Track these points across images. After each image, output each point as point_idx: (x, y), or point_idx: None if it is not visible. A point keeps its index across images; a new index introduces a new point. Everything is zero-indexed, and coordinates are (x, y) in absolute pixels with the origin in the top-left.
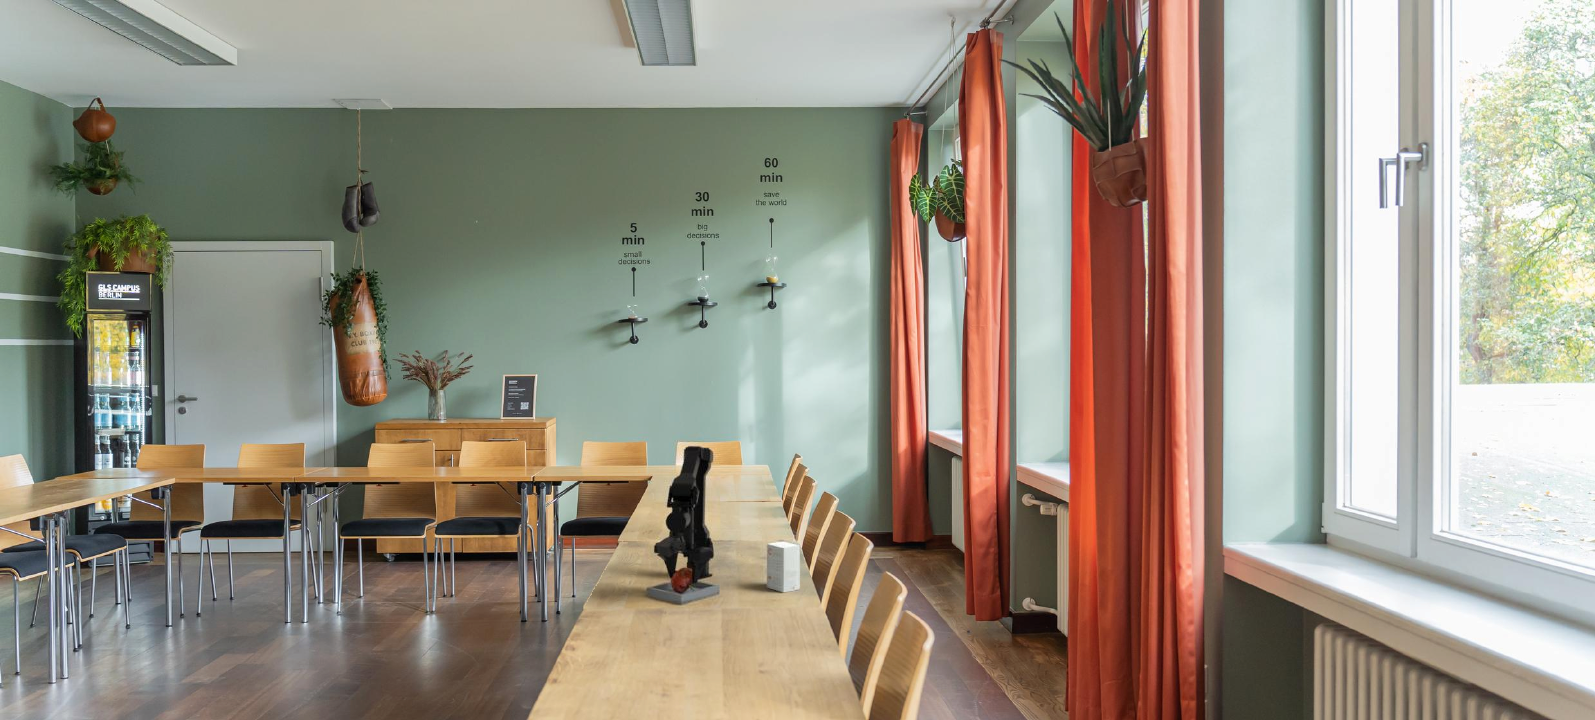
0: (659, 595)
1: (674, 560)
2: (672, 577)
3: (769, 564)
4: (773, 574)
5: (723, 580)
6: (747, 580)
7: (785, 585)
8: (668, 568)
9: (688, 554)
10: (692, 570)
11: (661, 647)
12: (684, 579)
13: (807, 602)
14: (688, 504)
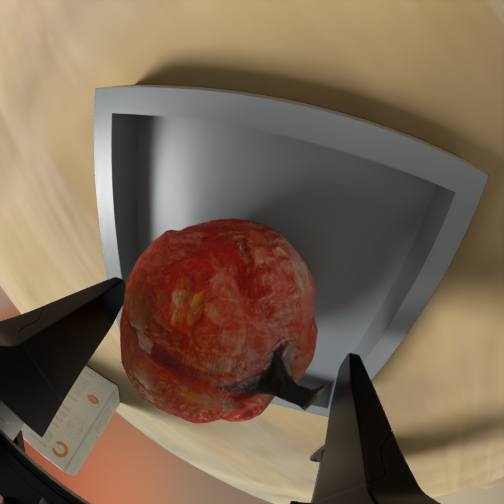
0: (334, 111)
1: (326, 494)
2: (275, 304)
3: (78, 425)
4: (74, 397)
5: (255, 435)
6: (201, 432)
7: None
8: (366, 419)
9: (39, 472)
10: (44, 321)
11: None
12: (133, 270)
13: (6, 291)
14: None
